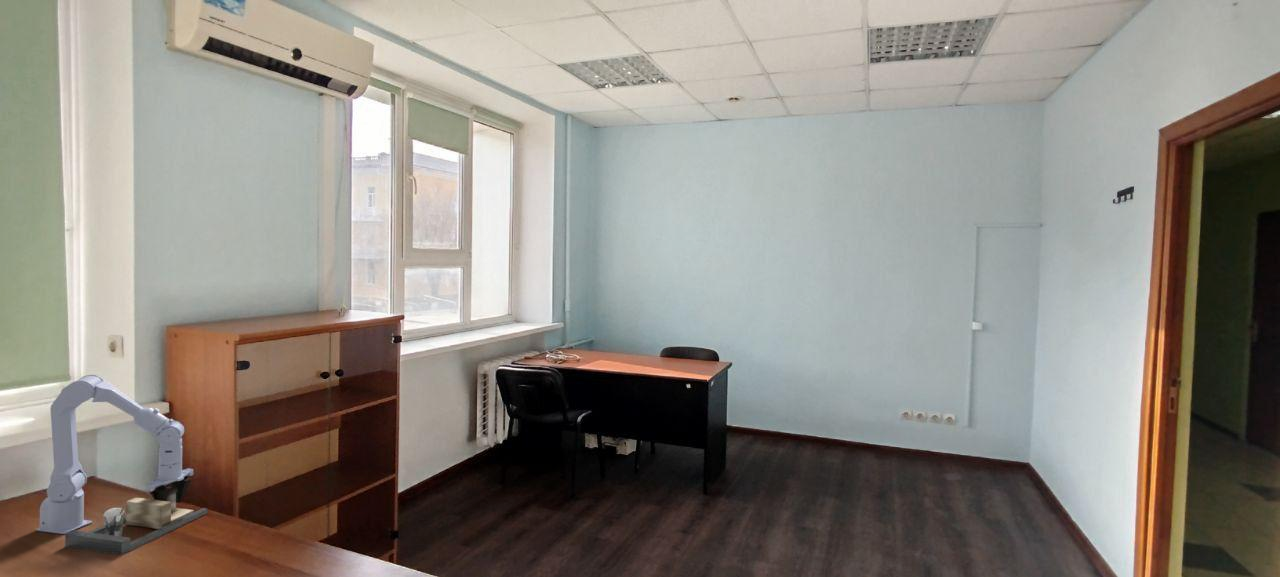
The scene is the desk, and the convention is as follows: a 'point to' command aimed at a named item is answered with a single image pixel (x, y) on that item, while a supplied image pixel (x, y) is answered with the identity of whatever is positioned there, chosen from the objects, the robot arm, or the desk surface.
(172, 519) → the clamp jaw
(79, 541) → the grey tray
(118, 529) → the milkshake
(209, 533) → the desk surface
